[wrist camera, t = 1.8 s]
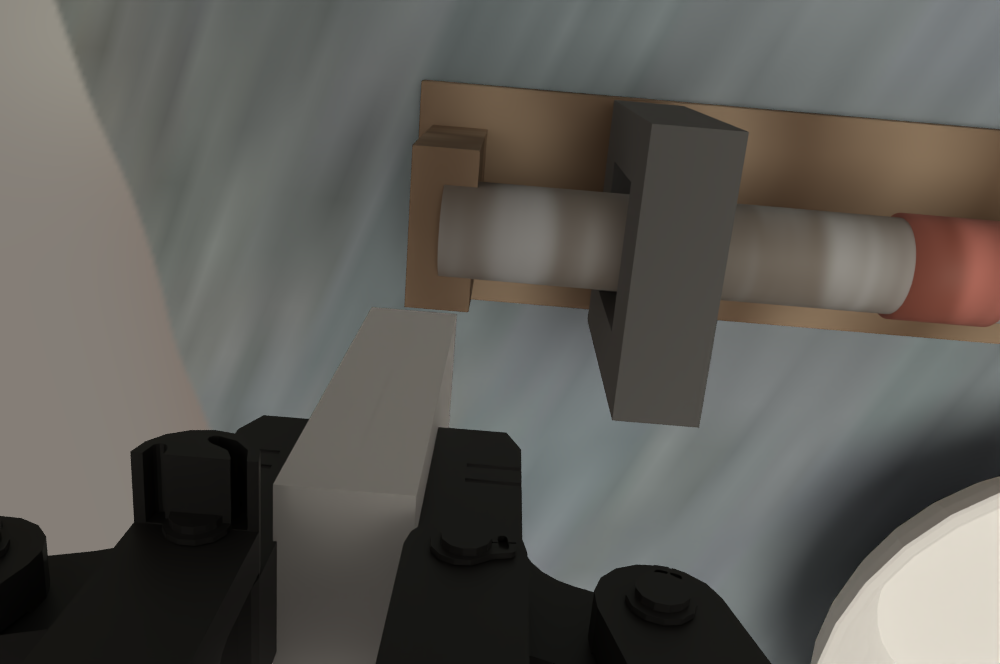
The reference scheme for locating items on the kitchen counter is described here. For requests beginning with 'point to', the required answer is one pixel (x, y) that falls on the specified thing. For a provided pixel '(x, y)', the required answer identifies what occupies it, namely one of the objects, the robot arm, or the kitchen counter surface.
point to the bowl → (924, 590)
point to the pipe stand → (757, 224)
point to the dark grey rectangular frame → (666, 259)
